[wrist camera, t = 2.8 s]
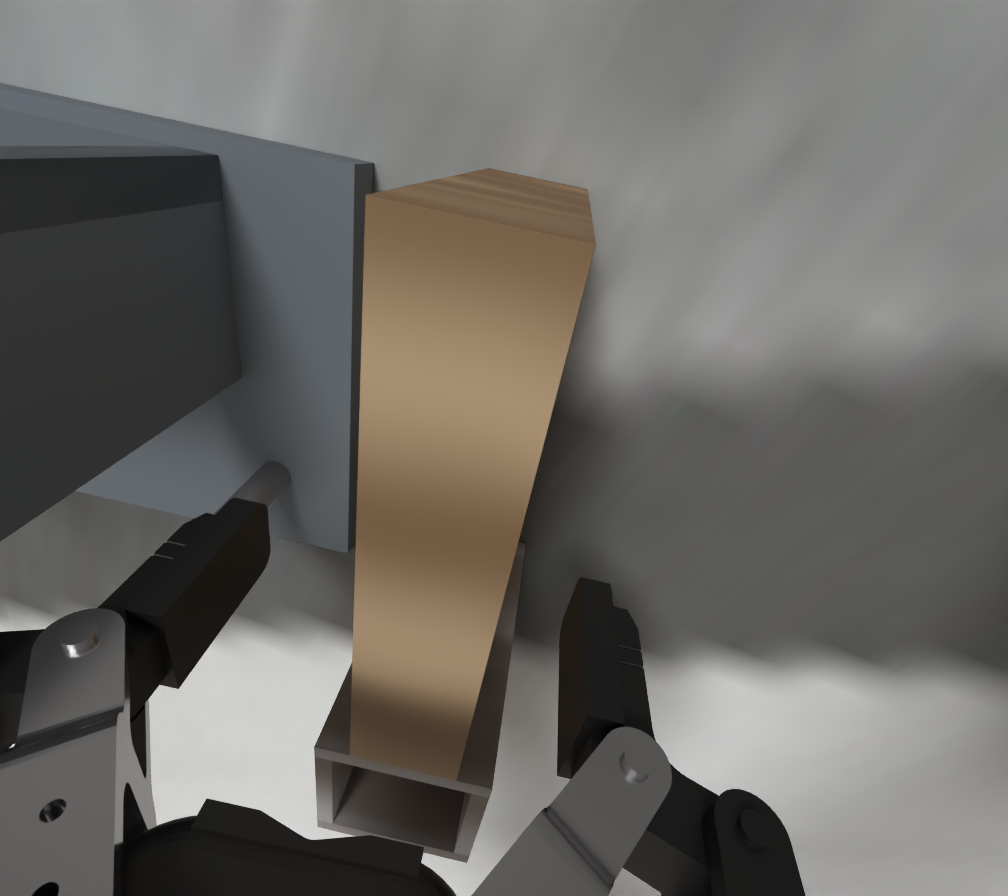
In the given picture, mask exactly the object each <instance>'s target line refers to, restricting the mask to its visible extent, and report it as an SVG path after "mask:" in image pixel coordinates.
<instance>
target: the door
mask: <svg viewBox="0 0 1008 896" xmlns="http://www.w3.org/2000/svg"><path fill="white" fill-rule="evenodd" d="M595 245H596V243H595V237H594V230H593V223H592V217H591V210H590V204H589V197H588V190H587V189H583V188H579V187H574V186H569V185H565V184H560V183H555V182H550V181H546V180H541V179H536V178H532V177H527V176H522V175H518V174H513V173H508V172H503V171H499V170H494V169H489V168H488V169H483V170H479V171H474V172H469V173H465V174H460V175H455V176H451V177H446V178H441V179H437V180H432V181H427V182H423V183H418V184H413V185H409V186H404V187H400V188H395V189H390V190H386V191H381V192H376V193H372V194H367V195H366V199H365V234H364V269H363V304H362V339H361V375H360V410H359V445H358V480H357V516H356V551H355V586H354V621H353V657H352V664H351V666H350V668H349V671H348V673H347V675H346V677H345V680H344V682H343V684H342V686H341V689H340V691H339V693H338V695H337V698H336V700H335V702H334V704H333V706H332V709H331V711H330V713H329V715H328V718H327V720H326V722H325V724H324V727H323V729H322V731H321V733H320V736H319V738H318V740H317V742H316V745H315V747H314V750H315V774H316V797H317V820H318V827H321V828H325V829H329V830H333V831H337V832H341V833H345V834H350V835H354V836H367V835H373V836H377V837H382V838H386V839H391V840H395V841H400V842H404V843H409V844H413V845H418V846H422V847H424V851H423V852H424V853H429V854H433V855H437V856H441V857H445V858H449V859H453V860H458V861H462V862H466V863H467V861H468V858H469V855H470V852H471V849H472V846H473V843H474V841H475V838H476V835H477V832H478V829H479V826H480V823H481V820H482V817H483V814H484V811H485V808H486V806H487V803H488V800H489V797H490V794H491V791H492V786H493V779H494V772H495V764H496V757H497V750H498V743H499V736H500V728H501V721H502V714H503V707H504V700H505V693H506V685H507V678H508V671H509V664H510V657H511V649H512V642H513V635H514V628H515V621H516V613H517V606H518V599H519V592H520V585H521V577H522V570H523V563H524V556H525V549H526V543H522V542H518V541H519V538H520V534H521V530H522V526H523V522H524V518H525V514H526V511H527V507H528V503H529V499H530V495H531V491H532V487H533V484H534V480H535V476H536V472H537V468H538V464H539V461H540V457H541V453H542V449H543V445H544V441H545V437H546V434H547V430H548V426H549V422H550V418H551V414H552V410H553V407H554V403H555V399H556V395H557V391H558V387H559V383H560V380H561V376H562V372H563V368H564V364H565V360H566V357H567V353H568V349H569V345H570V341H571V337H572V333H573V330H574V326H575V322H576V318H577V314H578V310H579V306H580V303H581V299H582V295H583V291H584V287H585V283H586V280H587V276H588V272H589V268H590V264H591V260H592V256H593V253H594V249H595Z"/></svg>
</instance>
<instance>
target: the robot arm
mask: <svg viewBox="0 0 1008 896" xmlns="http://www.w3.org/2000/svg"><path fill="white" fill-rule="evenodd" d="M269 555H270V534H269V518H268V508H267V506H266V505H265V504H262V503H258V502H254V501H249V500H245V499H240V498H236V497H235V498H232V499H230V500H229V501H228V502H227V503H226V504H225V505H224V506H223V507H222V508H221V509H220V510H219V511H218V512H217V513H216V514H215V515H214V514H210V513H204V514H202V515H200V516H199V517H197V518H195V519H193V520H191V521H189V522H187V523H185V524H183V525H182V526H181V527H180V528H179V529H178V530H177V531H176V532H175V533H174V534H173V535H172V536H171V537H170V538H169V539H168V541H167V543H164V544H163V545H162V546H161V547H160V548H159V549H158V550H157V551H156V552H155V554H154V556H151V557H150V558H149V559H148V560H146V561H145V562H144V563H143V564H142V565H141V566H140V567H139V568H138V569H137V570H136V571H135V572H134V573H133V574H132V575H131V576H130V577H129V578H128V579H127V580H126V581H125V582H124V583H123V584H122V585H121V586H120V587H119V588H118V589H117V590H116V591H115V592H114V593H113V594H112V595H111V596H110V597H109V598H107V599H106V600H105V601H104V602H103V603H102V604H101V605H100V606H99V607H98V608H95V609H87V610H82V611H78V612H74V613H72V614H69V615H67V616H65V617H63V618H61V619H59V620H57V621H56V622H54V623H52V624H51V625H50V626H48V627H47V628H46V629H41V630H26V631H9V632H0V896H456V894H455V893H454V891H453V890H452V889H451V888H450V887H449V885H448V884H447V883H446V882H445V881H444V880H443V879H442V878H441V877H440V876H439V875H438V874H436V873H435V872H434V871H433V870H432V869H430V868H428V867H427V866H425V865H424V864H422V863H421V860H422V855H423V851H424V847H422V846H418V845H413V844H409V843H404V842H400V841H395V840H391V839H386V838H382V837H377V836H373V835H367V836H356V837H344V838H333V839H322V840H309V839H306V838H304V837H302V836H301V835H299V834H297V833H296V832H294V831H293V830H291V829H289V828H288V827H286V826H285V825H283V824H281V823H280V822H278V821H276V820H275V819H273V818H272V817H270V816H268V815H267V814H265V813H264V812H262V811H260V810H256V809H251V808H247V807H242V806H238V805H234V804H229V803H225V802H220V801H216V800H211V799H206V801H205V803H204V804H203V806H202V808H201V810H200V811H199V813H198V815H197V816H189V817H185V818H180V819H176V820H172V821H169V822H166V823H163V824H160V825H158V826H157V824H156V814H155V807H154V802H153V796H152V786H151V756H150V721H149V702H148V699H149V698H150V696H151V695H152V694H153V692H154V691H155V690H156V688H157V687H158V686H159V685H163V686H168V687H172V688H177V689H179V687H180V686H181V685H182V683H183V682H184V680H185V679H186V678H187V676H188V675H189V674H190V672H191V671H192V669H193V668H194V667H195V665H196V664H197V663H198V661H199V660H200V658H201V657H202V656H203V654H204V653H205V651H206V650H207V649H208V647H209V646H210V645H211V643H212V642H213V640H214V639H215V638H216V636H217V635H218V633H219V632H220V631H221V629H222V628H223V627H224V625H225V624H226V622H227V621H228V620H229V618H230V617H231V615H232V614H233V613H234V611H235V610H236V609H237V607H238V606H239V604H240V603H241V602H242V600H243V599H244V597H245V596H246V595H247V593H248V592H249V591H250V589H251V588H252V586H253V585H254V584H255V582H256V581H257V580H258V578H259V577H260V575H261V574H262V572H263V571H264V569H265V567H266V565H267V562H268V559H269ZM640 649H641V647H640V640H639V633H638V628H637V626H636V624H635V623H634V621H633V619H632V617H631V616H630V614H629V612H628V610H626V609H622V608H618V607H613V600H612V590H611V586H610V584H609V583H604V582H600V581H595V580H591V579H587V578H582V577H580V578H579V580H578V582H577V585H576V587H575V590H574V592H573V595H572V597H571V600H570V602H569V605H568V608H567V610H566V613H565V615H564V618H563V622H562V626H561V632H560V644H559V700H558V756H557V776H560V777H565V778H569V779H571V780H570V781H569V783H568V784H567V785H566V786H565V788H564V789H563V790H562V791H561V792H560V794H559V795H558V796H557V797H556V799H555V800H554V801H553V802H552V803H551V804H550V806H549V807H547V808H544V809H543V810H542V811H541V812H540V813H539V814H538V815H537V816H536V818H535V819H534V820H533V821H532V822H531V824H530V825H529V826H528V827H527V828H526V830H525V831H524V832H523V833H522V835H521V836H520V837H519V838H518V839H517V841H516V842H515V843H514V844H513V846H512V847H511V848H510V849H509V850H508V852H507V853H506V854H505V855H504V856H503V858H502V859H501V860H500V861H499V863H498V864H497V865H496V866H495V867H494V869H493V870H492V871H491V872H490V874H489V875H488V876H487V877H486V878H485V880H484V881H483V882H482V883H481V885H480V886H479V887H478V888H477V889H476V891H475V892H474V893H473V894H472V896H608V895H609V893H610V891H611V889H612V887H613V885H614V884H613V883H614V881H615V879H616V877H617V876H618V874H619V872H620V871H621V869H622V867H623V868H624V869H626V870H627V871H629V872H630V873H632V874H633V875H635V876H636V877H638V878H639V879H641V880H642V881H644V882H646V883H647V884H649V885H650V886H652V887H653V888H655V889H656V890H658V891H659V892H661V896H805V892H804V889H803V885H802V882H801V878H800V874H799V871H798V867H797V863H796V860H795V856H794V852H793V849H792V845H791V842H790V839H789V836H788V833H787V831H786V829H785V827H784V825H783V824H782V822H781V820H780V819H779V818H778V816H777V815H776V814H775V812H774V811H773V810H772V809H771V808H770V807H769V806H768V805H767V804H766V803H765V802H764V801H762V800H761V799H760V798H758V797H757V796H755V795H753V794H751V793H749V792H747V791H744V790H739V789H731V790H727V791H725V792H723V793H722V794H721V795H720V796H718V795H716V794H715V793H713V792H711V791H710V790H708V789H706V788H704V787H703V786H701V785H699V784H698V783H696V782H694V781H692V780H691V779H689V778H687V777H686V776H684V775H683V774H681V773H680V772H679V771H678V770H676V769H675V768H674V767H673V766H672V765H671V764H670V763H669V761H668V759H667V756H666V755H665V753H664V751H663V749H662V748H661V747H660V746H659V744H658V743H657V742H656V740H655V737H654V734H653V729H652V722H651V715H650V709H649V702H648V695H647V688H646V681H645V674H644V669H643V660H642V653H641V652H640ZM15 743H16V744H15ZM12 744H15V746H14V747H12V748H10V746H11V745H12Z"/></svg>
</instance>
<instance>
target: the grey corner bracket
mask: <svg viewBox="0 0 1008 896" xmlns="http://www.w3.org/2000/svg"><path fill="white" fill-rule="evenodd" d="M373 166H374V163H371V162H367V161H362V160H357V159H353V158H348V157H343V156H339V155H334V154H329V153H325V152H320V151H315V150H310V149H306V148H301V147H296V146H292V145H287V144H282V143H278V142H273V141H268V140H264V139H259V138H254V137H250V136H245V135H240V134H235V133H231V132H226V131H221V130H217V129H212V128H207V127H203V126H198V125H193V124H189V123H184V122H179V121H175V120H170V119H165V118H161V117H156V116H151V115H146V114H142V113H137V112H132V111H128V110H123V109H118V108H114V107H109V106H104V105H100V104H95V103H90V102H86V101H81V100H76V99H71V98H67V97H62V96H57V95H53V94H48V93H43V92H39V91H34V90H29V89H25V88H20V87H15V86H11V85H6V84H1V83H0V541H1V540H3V539H4V538H6V537H7V536H9V535H10V534H12V533H13V532H15V531H16V530H18V529H19V528H21V527H22V526H24V525H25V524H27V523H28V522H30V521H31V520H33V519H34V518H35V517H37V516H38V515H40V514H41V513H43V512H44V511H46V510H47V509H49V508H50V507H52V506H53V505H55V504H56V503H58V502H59V501H61V500H62V499H64V498H65V497H67V496H68V495H69V494H71V493H72V492H74V491H77V492H82V493H86V494H90V495H95V496H99V497H103V498H108V499H112V500H116V501H121V502H125V503H130V504H134V505H138V506H143V507H147V508H151V509H156V510H160V511H164V512H169V513H173V514H177V515H182V516H186V517H191V518H197V517H199V516H200V515H202V514H204V513H210V514H214V515H215V514H216V513H217V512H218V511H219V510H220V509H221V508H222V507H223V506H224V505H225V504H226V503H227V502H228V501H229V500H230V499H232V498H235V497H236V498H240V499H245V500H249V501H254V502H258V503H262V504H265V505H266V506H267V508H268V518H269V534H270V536H273V537H278V538H282V539H286V540H291V541H295V542H299V543H304V544H308V545H313V546H317V547H321V548H326V549H330V550H334V551H339V552H343V553H347V554H348V553H349V551H350V549H351V547H352V546H353V544H354V542H355V540H356V516H357V480H358V445H359V410H360V375H361V339H362V304H363V269H364V234H365V199H366V195H367V194H372V193H373Z"/></svg>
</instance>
